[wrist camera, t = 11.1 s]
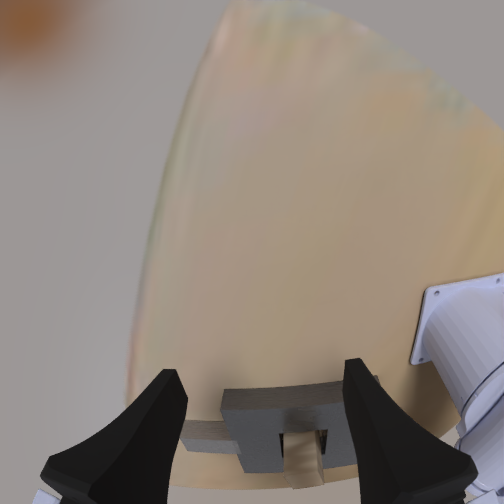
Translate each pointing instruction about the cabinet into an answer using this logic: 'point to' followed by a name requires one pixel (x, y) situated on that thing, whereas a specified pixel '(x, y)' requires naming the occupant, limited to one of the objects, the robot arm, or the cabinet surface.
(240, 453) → the steel bracket head
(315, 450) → the oak wedge
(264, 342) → the cabinet surface
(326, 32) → the cabinet surface
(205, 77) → the cabinet surface
